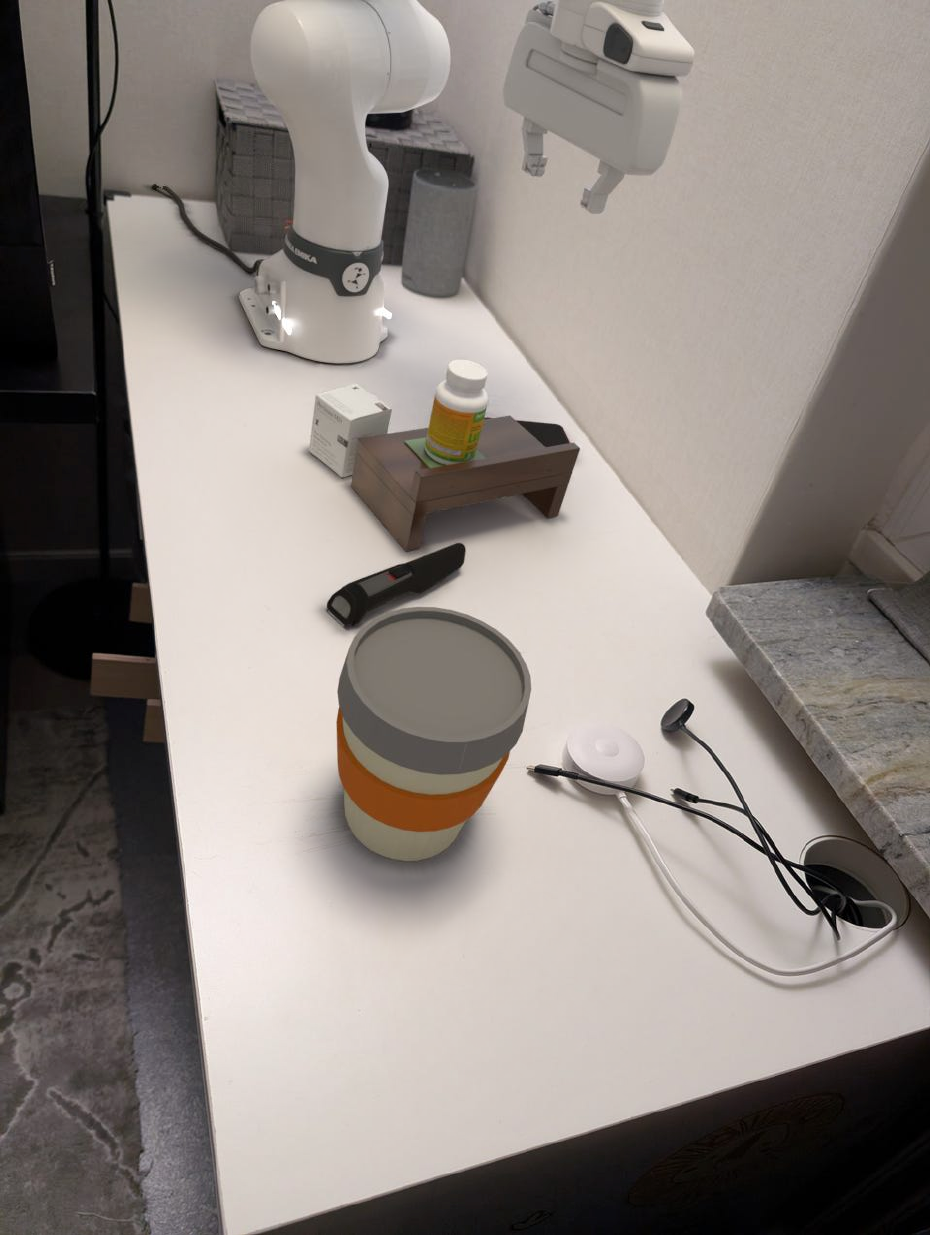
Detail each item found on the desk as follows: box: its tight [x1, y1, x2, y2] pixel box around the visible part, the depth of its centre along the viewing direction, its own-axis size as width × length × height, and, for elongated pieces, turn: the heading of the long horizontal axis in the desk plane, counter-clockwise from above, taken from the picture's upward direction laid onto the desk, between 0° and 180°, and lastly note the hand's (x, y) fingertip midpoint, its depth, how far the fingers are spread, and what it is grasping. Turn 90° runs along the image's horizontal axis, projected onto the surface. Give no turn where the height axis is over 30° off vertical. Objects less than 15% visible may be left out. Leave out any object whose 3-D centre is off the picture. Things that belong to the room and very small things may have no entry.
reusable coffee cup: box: [336, 606, 532, 862], centre depth 62 cm, size 13×13×15 cm
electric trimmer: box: [326, 542, 467, 627], centre depth 85 cm, size 4×16×3 cm, turn 134°
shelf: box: [350, 415, 581, 553], centre depth 96 cm, size 12×20×9 cm, turn 123°
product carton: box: [308, 383, 393, 478], centre depth 98 cm, size 6×6×7 cm
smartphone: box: [484, 416, 571, 447], centre depth 111 cm, size 7×1×15 cm
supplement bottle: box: [425, 359, 489, 465], centre depth 91 cm, size 5×5×10 cm
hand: (560, 192), depth 86 cm, fingers open, 8 cm apart
